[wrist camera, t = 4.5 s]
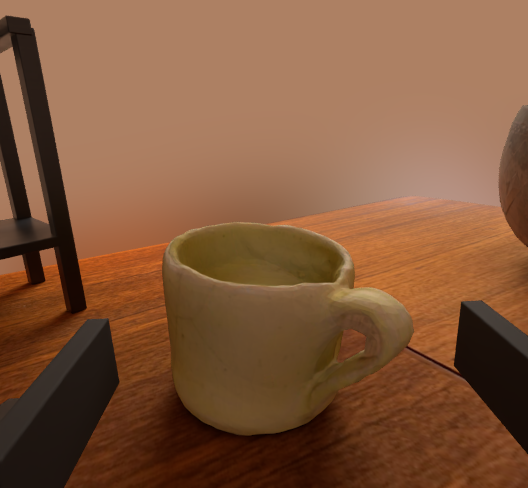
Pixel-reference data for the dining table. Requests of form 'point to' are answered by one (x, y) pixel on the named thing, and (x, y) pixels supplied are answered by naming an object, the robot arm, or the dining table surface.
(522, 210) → the bowl
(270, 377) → the mug
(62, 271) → the rack
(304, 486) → the dining table surface
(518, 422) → the robot arm
